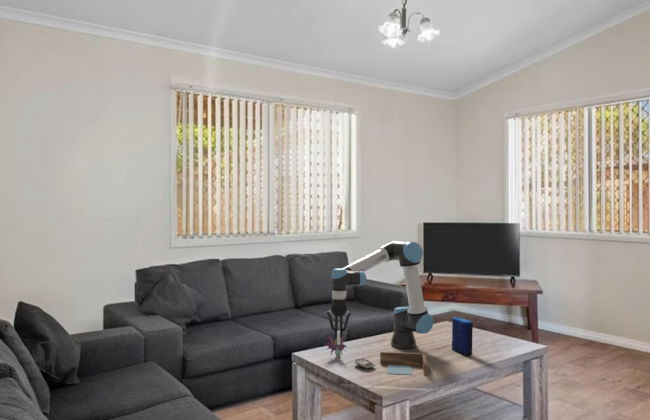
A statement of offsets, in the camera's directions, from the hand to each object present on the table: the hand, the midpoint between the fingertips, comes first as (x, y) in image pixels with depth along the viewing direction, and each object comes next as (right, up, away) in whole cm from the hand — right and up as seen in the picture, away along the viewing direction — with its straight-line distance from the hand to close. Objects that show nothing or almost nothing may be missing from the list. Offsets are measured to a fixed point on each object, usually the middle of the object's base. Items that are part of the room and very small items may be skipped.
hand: (338, 343), depth 252 cm
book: (+72, -13, +27) cm, 78 cm away
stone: (+12, -13, -2) cm, 18 cm away
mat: (+31, -13, -3) cm, 34 cm away
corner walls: (+33, -13, -2) cm, 35 cm away
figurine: (0, -13, +17) cm, 22 cm away
